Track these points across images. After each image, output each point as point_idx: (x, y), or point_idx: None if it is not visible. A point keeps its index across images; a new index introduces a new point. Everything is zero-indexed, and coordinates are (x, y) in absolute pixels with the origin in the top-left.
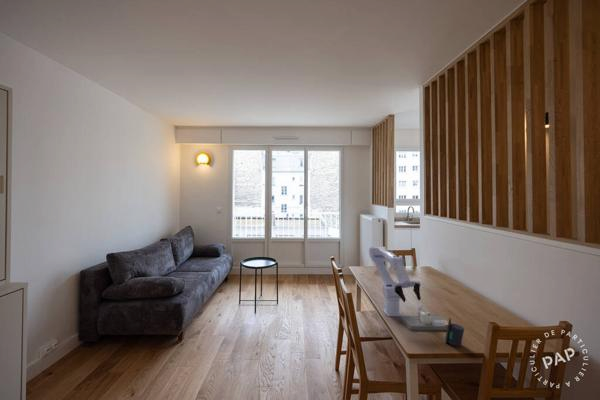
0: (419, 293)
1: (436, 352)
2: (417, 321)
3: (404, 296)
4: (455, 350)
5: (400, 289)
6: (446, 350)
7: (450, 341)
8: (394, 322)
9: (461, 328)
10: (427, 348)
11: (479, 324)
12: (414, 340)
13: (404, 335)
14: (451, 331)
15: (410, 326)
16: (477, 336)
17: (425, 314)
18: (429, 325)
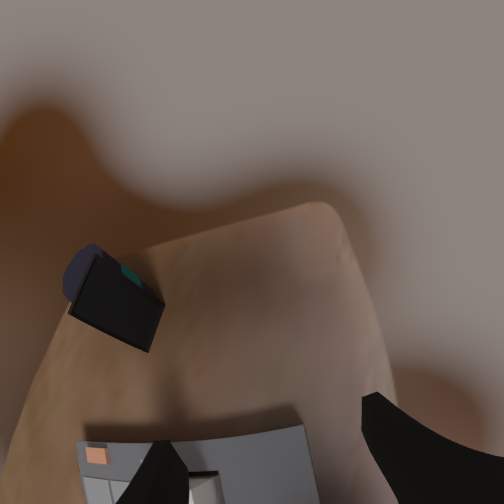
0: (133, 483)
1: (229, 225)
2: (239, 499)
3: (384, 417)
4: (153, 259)
5: (472, 474)
6: (186, 249)
7: (146, 285)
8: (378, 500)
9: (75, 263)
10: (256, 245)
11: (7, 474)
12: (300, 303)
13: (345, 346)
14: (119, 268)
15: (300, 425)
16: (38, 385)
17: None
18: (181, 451)
